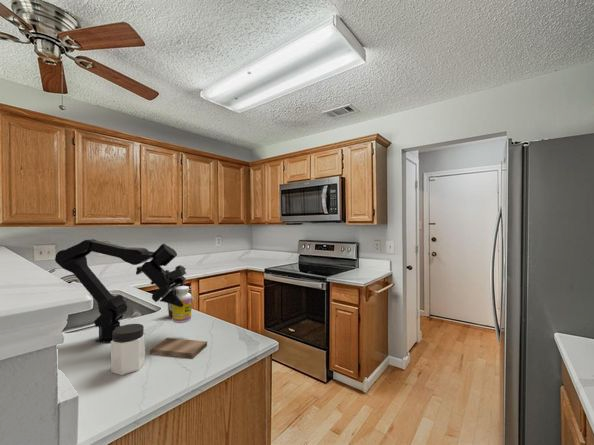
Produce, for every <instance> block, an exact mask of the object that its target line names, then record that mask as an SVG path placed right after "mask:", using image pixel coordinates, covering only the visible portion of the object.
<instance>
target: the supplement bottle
mask: <svg viewBox="0 0 594 445" xmlns="http://www.w3.org/2000/svg"><path fill="white" fill-rule="evenodd" d="M189 291H190V287H189V286H187V285H184V286H179V287H176V296H177V297H178V298H179V299H180V301H181V302H182V303H183V306H182V307H179V306H176V305H173V318H172V322H173V323H175V324H185V323H188V322H190V321H191V320H192V306H191V294H192V293H190V292H189Z"/></svg>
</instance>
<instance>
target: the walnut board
mask: <svg viewBox="0 0 594 445" xmlns="http://www.w3.org/2000/svg"><path fill="white" fill-rule="evenodd" d="M207 346H208V341H205V340H194V339H184V338H183V339H182V338H174V337H167V338H165V339H163V340H162V341H160V342H158V343H157V344H156V345H154V346H152V347H151V348H150V350H149V354H153V355H162V356H172V357H181V358H191V359H194V358H195V357H196V356H197V355H198V354H200V353H201V352H202V351H203V350H204V349H205V348H206V347H207Z"/></svg>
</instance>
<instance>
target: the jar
mask: <svg viewBox="0 0 594 445" xmlns="http://www.w3.org/2000/svg"><path fill="white" fill-rule="evenodd" d="M144 330H145V329H144V325H143V324H142V323H129V324H124V325H120V327H118V328H116V329H114V330H113V334H112V338H113V340H112V341H111V342H110V372H111V373H114V374H117V375H120V376H124V375H127V374H130V373H134V372H137V371H139V370H141V368H142V367H143V365H144V364H145V363H146V334H145V333H144Z"/></svg>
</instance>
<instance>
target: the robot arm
mask: <svg viewBox="0 0 594 445" xmlns="http://www.w3.org/2000/svg"><path fill="white" fill-rule="evenodd" d="M92 252H94V253H97V254H100V255H101V254H102V255H105V256H111V257H114V258H118V259H120V260H122V261H123V262H125V263H127V264H129V265H132V266H137V265H140V264H142V265H140V266H137V267H136V271H135V272H136V273H135V275H141V274H142V273H143V274H144V275H145V276H146V277H147V278H148V279H149V280H150V284H151V285H155V286H156V287H157V288H158V289H157V290H155V291H154V292H153V293H152V295H151V299H152V301H153V302H155V303H157V302H158V301H159V302H163V303H167V304H168V303H169V304H173V305H176V306H179V307H182V306H183V303H182V302H181V301H180V299H179V298H178V297H177V296H176V287H179V286H185V284H186V282H185V281H187V278H185V276H184V275H187V272H186V267H185V266H183V265H181V264H180V265H176V266H175V268H174V270H172V271H170V270H169V269H166V270H165V269H164V268H163V267H166V266H168V264H170V262H172V261H173V260H174V259H175V258H176V257H177V256H178V254H177V251H176V250H175V249H174V248H172V247H171V246H169V245H167V244H166V243H161V245H159V247H158V248H157V249H156V250H155V251H151V250H150V251H149V249H148V248H145V247H126V246H121V245H117V244H113V243H109V242H105V241H100V240H96V239H95V238H92V239H91V238H90V239H84V240H83V241H81V242H79V243H77V244H75V245H73V246H70V247H68V248H66V249H62V250H59V251H57V253H56V254H55V258H54V261H55V263H56V264H57V265H58V266H59V267H61V268H62V269H63V270H65V271H68V272H69V273H72V274H73V275H74V276H75V278H77V280H78V281H79V282H80V283H81V285H82V286H83V287H84V288H85V290H86V291H87V292H88V293H89V294H90V296H92V298H93V299H94V300H95V302H97V307H98V313H99V314H100V315H99V316H98V317H97V318H96V319H95V320H94V321H93V322H94V326H95V327H96V328H97V327H98V338H96V339H95V341H94V342H97V343H108V344H109V343H110V344H111V341H112V340H113V338H112V334H113V330H114V329H116V328H118V327H120V326H121V321H120V320H121V319H123V317H124V315H125V314H126V313H127V311H128V305H127V301H126V300H125V299H124V298H123V297H122V295H121V294H117V295H113V293H110V291H109V290H108V288H106V286H105V285H104V284H103V282H102V281H101V280H100V279H99V277H98V276H96V274H95V273H94V271H92V270H91V268H90V267H89V266H88V261H87V260H88V258H87V256H88V255H90V254H91V253H92ZM148 260H150V261H148ZM162 266H163V267H162Z"/></svg>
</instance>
